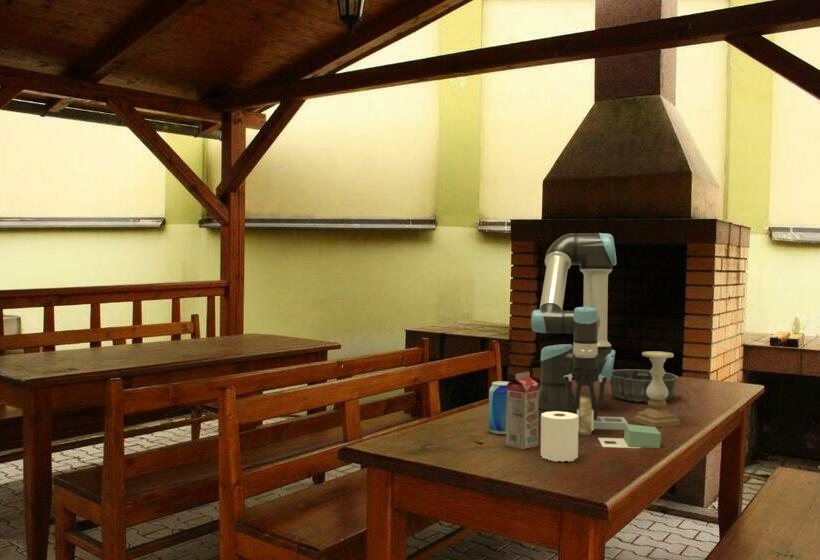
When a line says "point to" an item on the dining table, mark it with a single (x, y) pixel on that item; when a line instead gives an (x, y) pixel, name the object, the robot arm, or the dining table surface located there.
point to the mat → (620, 442)
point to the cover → (642, 436)
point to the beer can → (498, 407)
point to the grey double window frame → (610, 423)
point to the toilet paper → (559, 436)
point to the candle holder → (657, 395)
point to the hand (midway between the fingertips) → (584, 429)
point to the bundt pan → (637, 384)
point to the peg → (585, 415)
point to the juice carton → (522, 411)
